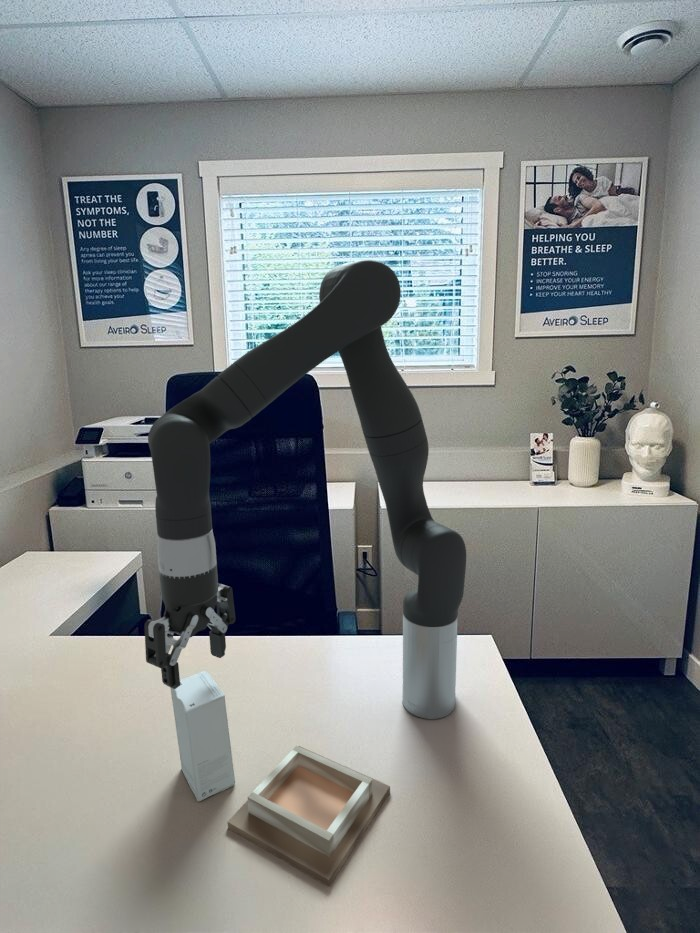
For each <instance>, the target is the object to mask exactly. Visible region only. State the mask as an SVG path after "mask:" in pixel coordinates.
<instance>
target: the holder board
mask: <svg viewBox="0 0 700 933" xmlns="http://www.w3.org/2000/svg"><path fill="white" fill-rule="evenodd" d="M390 793H391V785H389V784H386V783H384V782H381V781H379V780H377V779H374V778H373V777H370V776H368V775H365V774H363V773H361V772H359V771H357V770H354V769H353V768H350V767H347V766H346V765H343V764H341V763H339V762H336V761H335V760H332V759H330V758H328V757H325V756H323V755H320V754H318V753H316V752H314V751H311V750H310V749H307V748H305V747H303V746H300V745H295V746H294V748H292V749H291V751H290V752H288V754H286V756H285V757H284V758H283V759H282V760H281V761H280V762H279V763H278V764H277V766H275V767H274V768H273V770H272V771H271V772H270V773H269V774H268V775H267V776H266V777H265V778H264V779H263V780H262V781H261V782H260V783H259V784H258V785H257V787H256V788H255V789H254V790H253V791H252V792H251V793H250V794H249V795H248V796H247V800H246V801H245V802H244V803H243V804H242V806H240V808H239V809H238V810H237V811H236V812H235V813H234V814H233V815H232V816H231V817H230V818H229V819H228V820H227V829H230V831H232V832H235V834H237V835H239V836H241V837H243V838H245V839H247V840H248V841H250V842H251V843H253V844H255V845H257V846H259V848H262V849H264V850H265V851H267V852H269V853H270V854H272V855H274V856H275V857H277V858H279V859H281V860H283V861H284V862H286V863H287V864H289V865H291V866H293V867H295V868H296V869H298V870H300V871H302V872H303V873H304V874H307V875H309V876H310V877H312V878H314V879H315V880H316V881H318V882H320V883H322V884H324V885H325V886H327V887H330V886H331V884H332V882H333V881H334V880H335V878H336V876H337V875H338V873H339V872H340V870H341V869H342V867H343V866H344V864H345V862H346V861H347V860H348V858H349V857H350V854H351V853H352V852H353V850H354V849H355V847H356V846H357V845H358V843H359V841H360V840H361V838H362V836H363V835H364V833H365V832H366V830H367V829H368V827H369V825H370V824H371V823H372V821H373V819H374V818H375V816H376V815H377V813H378V812H379V809H380V808H382V807H381V806H382V805H383V804H384V802H385V801H386V799H387V798H388V796H389V795H390ZM366 828H367V829H366Z"/></svg>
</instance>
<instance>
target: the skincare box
mask: <svg viewBox="0 0 700 933" xmlns="http://www.w3.org/2000/svg"><path fill="white" fill-rule="evenodd" d="M169 689H170V695H171V701H172V708H173V715H174V716H173V717H174V722H175V723H174V724H175V731H176V738H177V745H178V746H177V747H178V752H179V760H180V768H181V770H182V772H183V775H184V777H185V779H186V781H187V782H188V785H189V787H190V789H191V791H192V792H193V795H194V796H195V799H196V802H201V801H203V800H205V799H207V798H208V797H211V796H213V795H216V794H218V793H222V792H223V791H225V790H227V789H230V788H231V787H234V786H235V785H236V779H235V778H236V777H235V770H234V769H235V768H234V762H233V754H232V752H233V751H232V745H231V738H230V737H231V736H230V730H229V729H230V728H229V722H228V721H229V720H228V712H227V705H226V704H227V703H226V694H225V693H224V691H222V689H221V688H220V686H219V685H218V684H217V682H216V681H215V680H214V678H213V677H212V676H211V674H210V673H209V672H208V670H203V671H200V672H198V673H196V674H195V673H194V674H192V675H190V676H188V677H184V678H182V679H180V686H179V687H178V688H176V689H173V688H171V687H169Z"/></svg>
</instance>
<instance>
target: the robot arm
mask: <svg viewBox="0 0 700 933" xmlns="http://www.w3.org/2000/svg"><path fill="white" fill-rule="evenodd" d="M400 284H401V283H400V281H399V277H398V276H397V275H396V273H395V272H394V271H393V269H392V268H391V267H389V265H387V264H385V263H384V262H382V261H379V260H375V259H359V260H353V261H351V262H346V263H342V264H338V265H336V266H335V267H333V268H331V269H330V270H328V272H326V274H325V275H324V277H323V279H322V281H321V283H320V286H319V292H318V293H319V294H318V297H319V303H318V304H317V305H316V306H315V307H313V309H311V310H310V311H309V312H308V313H307V314H305V315H304V316H303V317H301V318H300V319H298V320H297V321H296V322H294V323H292V325H290V326H288V327H287V328H285V329H283V330H281V331H280V332H279V333H277V334H276V335H274V336H272V337H270V338H268V339H266V340H265V341H263V342H262V343H260V344H258V345H256V346H255V347H253V348H252V349H250V350H248V351H247V352H246V353H244V354H243V355H241V357H239V358H237V360H235V361H233V363H231V364H230V365H229V366H228V367H226V368H225V369H224V370H223V371H221V372H220V373H219V374H218V375H217V376H215V377H214V378H213V379H211V380H210V381H209V382H208V383H207V384H206V385H205V386H204V387H203V388H202V389H200V390H198V391H197V392H195V393H193V394H192V395H190V396H189V397H187V398H185V399H184V400H182V401H180V402H178V403H177V404H176V405H174V406H172V408H170V409H169V410H167V411H165V413H164V414H162V415H160V417H159V418H158V419H156V420H155V421H154V422H153V424H152V425H151V427H150V430H149V431H148V437H147V443H148V444H147V445H148V447H149V450H150V455H151V462H152V470H153V477H154V482H155V483H154V484H155V490H156V497H155V503H154V504H155V505H154V506H155V521H156V522H155V523H156V531H157V544H156V548H157V549H156V551H157V552H156V555H157V566H158V575H159V576H158V577H159V587H160V597H161V599H162V602H163V604H164V606H165V609H164V613H163V616H162V617H160V618H159V619H156V620H153V619H147V620H146V621H145V622H144V643H145V646H144V647H145V648H144V649H145V662H146V663H147V664H150V665H153V666H154V667H157V668H160V669H161V670H160V671H161V673H160V674H161V680H162V683H163V685H166V686H167V687H168V688H170V687H171V688H173V689H176V688H178V687H179V686H180V680H181V677H180V667H179V665H180V664H179V662H178V661H179V658H180V655H181V653H182V650H184V649H185V648H186V647H187V646H188V642H189V640H190V638H193V637H194V636H196V635H197V633H199V632H201V631H204V630H206V629H207V627H208V628H209V629H210V631H208V635H209V645H210V654H211V655H212V656H213V657H216V658H218V659H221V658H223V657H224V656H225V655H226V648H227V644H226V632H227V630H228V627H229V625H230V624H231V625H233V624H234V623H235V622H236V611H235V601H234V593H233V587H231V586H228V585H225V584H222V583H219V578H218V577H219V575H218V563H217V549H216V539H215V536H214V532H213V531H214V530H213V519H212V507H211V506H212V505H211V499H210V498H211V497H210V485H211V484H210V482H211V481H210V480H211V450H210V449H211V447H210V444H212V442H214V441H215V440H217V439H218V438H220V437H221V436H222V435H224V433H226V432H227V431H229V430H234V429H237V428H240V427H242V426H244V425H245V424H246V423H247V422H249V421H250V420H252V418H254V417H255V416H257V415H258V414H259V413H260V412H261V411H262V410H264V409H265V408H267V407H268V406H269V405H270V404H271V403H272V402H274V401H275V400H276V399H277V398H278V397H280V396H281V395H282V394H283V393H284V392H285V391H287V390H288V389H289V388H290V387H292V386H294V384H296V383H297V382H298V381H299V380H300V379H302V378H303V377H305V375H307V374H308V373H309V372H310V371H312V370H314V369H315V368H316V367H318V366H319V365H320V364H322V363H323V362H324V361H326V360H328V359H329V358H330V357H332V356H333V355H335V354H336V353H338V354H339V356H340V358H341V361H342V363H343V367H344V370H345V373H346V377H347V379H348V384H349V388H350V391H351V394H352V398H353V402H354V406H355V408H356V411H357V415H358V419H359V423H360V427H361V430H362V434H363V437H364V440H365V443H366V444H365V445H366V448H367V450H368V453H369V457H370V459H371V462H372V465H373V467H374V471H375V475H376V478H377V482H378V484H379V488H380V490H381V494H382V496H383V500H384V504H385V506H386V513H387V517H388V524H389V529H390V533H391V539H392V544H393V548H394V552H395V556H396V557H397V559H398V560H399V562H400V563H401V565H403V567H405V568H406V569H407V570H409V571H410V572H412V573H413V574H415V575H417V578H418V579H417V581H418V582H417V588H415V589H413V590H410V591H409V592H407V593H406V594H405V596H404V598H403V602H402V704H403V707H404V708H405V709H406V711H407V712H408V713H410V714H412V715H413V716H416V717H418V718H421V719H427V720H436V719H438V720H439V719H441V718H445V717H447V716H449V715H450V714H452V712H453V711H454V709H455V706H456V685H457V683H456V682H457V655H458V654H457V653H458V650H457V648H458V646H457V645H458V619H459V618H458V616H459V608H460V606H461V604H462V601H463V598H464V590H465V579H466V569H467V568H466V567H467V566H466V565H467V549H466V548H467V546H466V544H465V541H464V539H463V537H462V536H461V534H460V533H459V532H457V531H455V530H454V529H451V528H449V527H448V526H445V525H443V524H440V523H438V522H436V521H435V520H434V518H433V516H432V514H431V512H430V509H429V506H428V503H427V499H426V496H425V492H424V478H425V474H426V469H427V464H428V461H429V460H428V459H429V454H430V453H429V451H430V450H429V448H430V447H429V442H428V437H427V433H426V429H425V425H424V422H423V421H424V420H423V418H422V414H421V410H420V408H419V404H418V403H417V400H416V399H415V397H414V394H413V393H412V391H411V390H410V388H409V386H408V385H407V383H406V381H405V379H404V378H403V376H402V375H401V373H400V372H399V370H398V368H397V366H395V364H394V362H393V360H392V358H391V356H390V354H389V351H388V348H387V345H386V341H385V338H384V333H383V329H382V326H384V325H385V324H387V323H388V322H389V321H390V320H391V319H392V318H393V316H394V315H396V312H397V310H398V309H399V305H400V302H401V294H402V293H401V285H400ZM215 608H216V612H217V613H216V612H215ZM174 634H176V635H178V636H180V637H179V638H178V639H176V638H174ZM171 647H172V648H171ZM171 649H172V650H171ZM170 650H171V652H170ZM171 688H170V689H171Z"/></svg>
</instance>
